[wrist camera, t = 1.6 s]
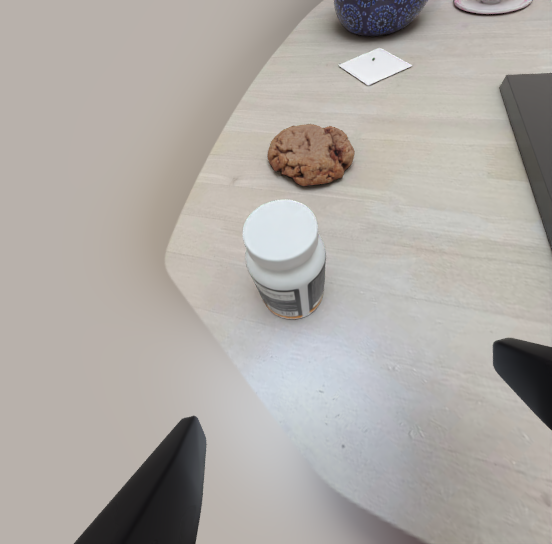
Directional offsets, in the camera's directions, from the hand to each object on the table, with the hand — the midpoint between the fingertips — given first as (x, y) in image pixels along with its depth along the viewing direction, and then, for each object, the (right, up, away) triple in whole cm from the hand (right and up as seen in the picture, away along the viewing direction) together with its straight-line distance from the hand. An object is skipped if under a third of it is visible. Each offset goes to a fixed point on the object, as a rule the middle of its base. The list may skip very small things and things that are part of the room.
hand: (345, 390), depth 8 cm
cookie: (+2, +17, +25) cm, 31 cm away
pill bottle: (0, +1, +17) cm, 17 cm away
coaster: (+13, +36, +33) cm, 51 cm away
